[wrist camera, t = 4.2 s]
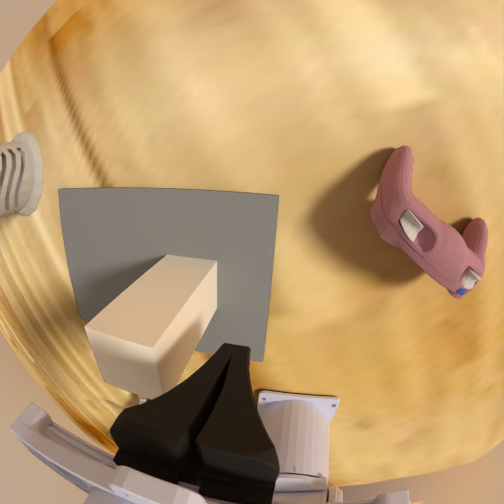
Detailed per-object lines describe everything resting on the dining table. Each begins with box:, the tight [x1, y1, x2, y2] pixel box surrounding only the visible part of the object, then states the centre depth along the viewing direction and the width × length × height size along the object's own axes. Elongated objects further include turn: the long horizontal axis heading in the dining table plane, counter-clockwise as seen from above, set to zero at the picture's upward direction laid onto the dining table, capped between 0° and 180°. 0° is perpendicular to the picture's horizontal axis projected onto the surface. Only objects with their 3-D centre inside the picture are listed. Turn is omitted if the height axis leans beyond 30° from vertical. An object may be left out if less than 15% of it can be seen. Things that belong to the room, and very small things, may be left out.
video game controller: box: [370, 146, 488, 299], centre depth 14 cm, size 10×5×7 cm, turn 61°
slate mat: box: [58, 188, 279, 362], centre depth 22 cm, size 14×20×1 cm
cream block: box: [84, 255, 217, 400], centre depth 16 cm, size 4×4×10 cm
